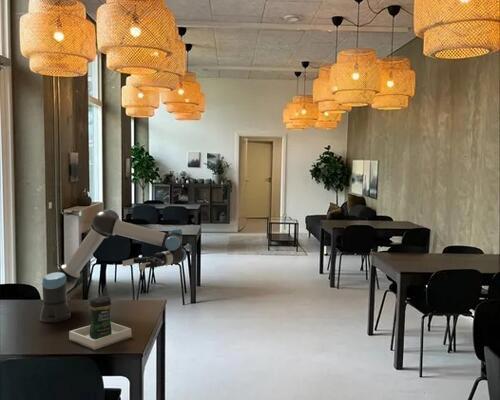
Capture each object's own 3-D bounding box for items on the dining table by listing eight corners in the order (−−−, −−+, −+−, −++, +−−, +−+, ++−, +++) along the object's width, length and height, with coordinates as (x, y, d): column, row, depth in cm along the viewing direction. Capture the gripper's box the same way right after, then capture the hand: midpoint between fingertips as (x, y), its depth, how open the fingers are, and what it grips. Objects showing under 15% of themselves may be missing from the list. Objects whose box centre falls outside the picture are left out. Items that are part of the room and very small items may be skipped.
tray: (69, 339, 217) (69, 331, 217) (106, 328, 233) (105, 320, 233) (94, 349, 205) (94, 340, 205) (131, 337, 221) (131, 328, 221)
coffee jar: (93, 341, 213) (92, 300, 212) (87, 336, 219) (86, 297, 218) (114, 336, 219) (113, 297, 218) (107, 331, 225) (106, 293, 224)
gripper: (178, 268, 250) (147, 275, 233) (147, 262, 265) (116, 269, 248) (178, 254, 249) (147, 260, 232) (147, 249, 264) (116, 255, 248)
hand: (131, 265), depth 240 cm, fingers open, 13 cm apart
